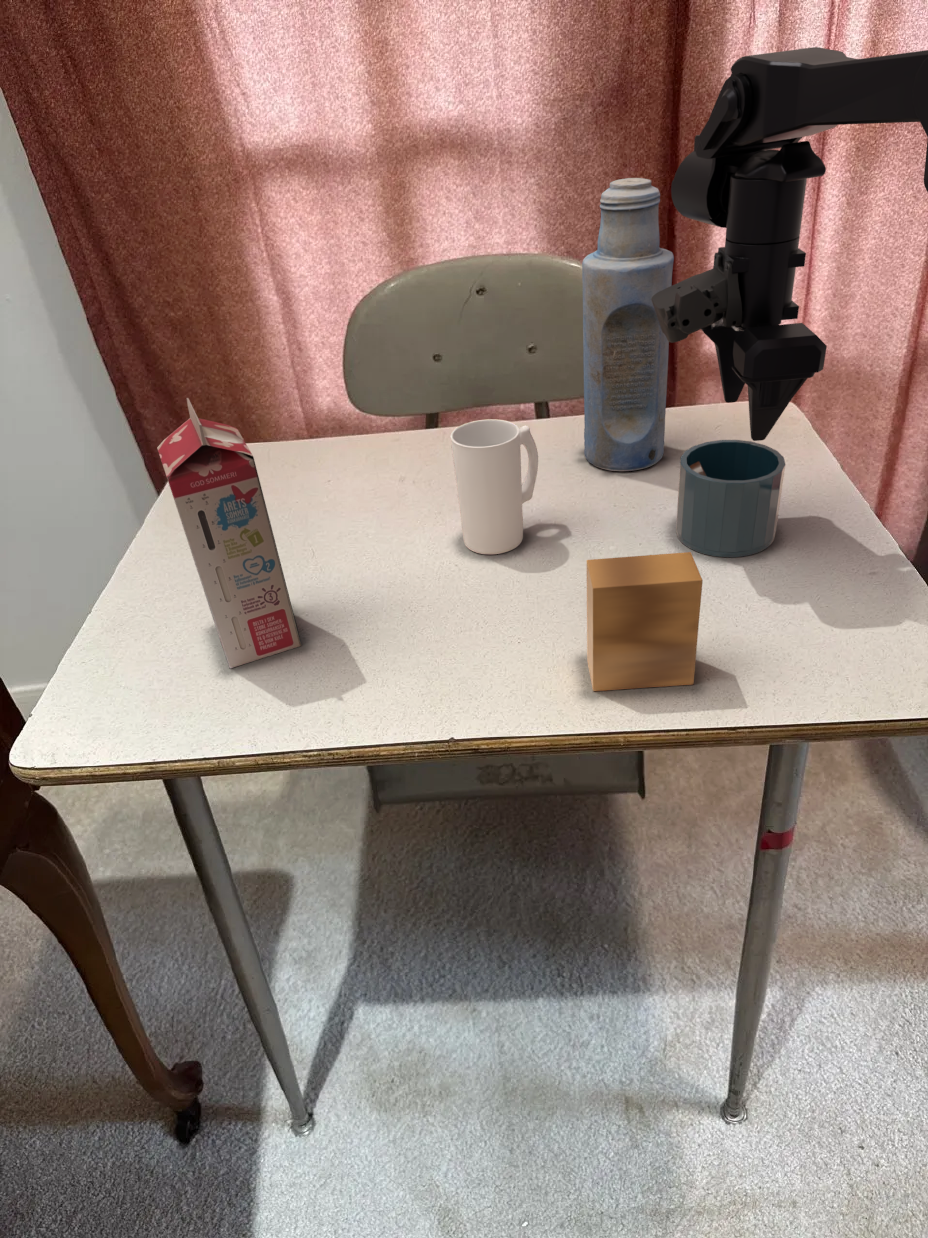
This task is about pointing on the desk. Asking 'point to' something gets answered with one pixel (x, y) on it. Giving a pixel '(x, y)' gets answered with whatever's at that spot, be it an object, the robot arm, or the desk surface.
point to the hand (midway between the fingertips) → (743, 419)
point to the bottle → (625, 331)
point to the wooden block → (642, 621)
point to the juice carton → (230, 538)
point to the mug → (492, 482)
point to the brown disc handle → (697, 468)
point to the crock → (729, 497)
